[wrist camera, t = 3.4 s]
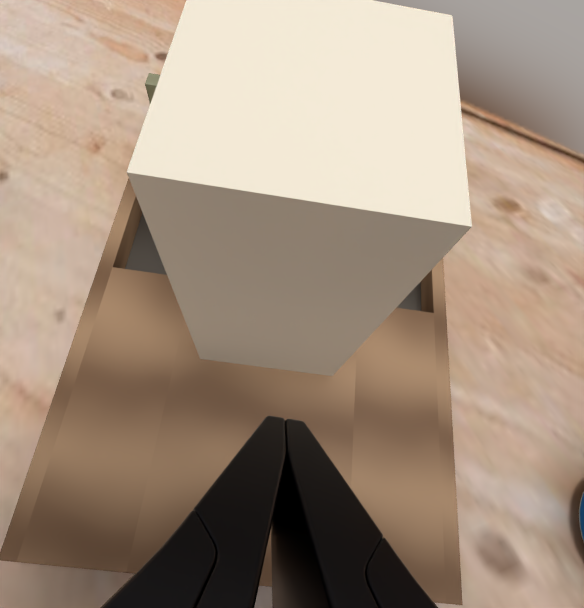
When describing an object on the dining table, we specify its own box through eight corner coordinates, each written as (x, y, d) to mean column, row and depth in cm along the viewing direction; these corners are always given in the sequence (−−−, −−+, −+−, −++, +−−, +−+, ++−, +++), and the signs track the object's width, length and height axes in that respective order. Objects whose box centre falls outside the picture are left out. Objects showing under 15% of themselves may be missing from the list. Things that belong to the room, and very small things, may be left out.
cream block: (332, 375, 21) (471, 226, 8) (200, 358, 20) (126, 172, 8) (339, 261, 24) (452, 15, 11) (223, 244, 23) (198, -33, 10)
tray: (441, 592, 19) (487, 620, 16) (22, 550, 18) (-34, 571, 14) (425, 167, 30) (450, 125, 26) (161, 123, 29) (149, 73, 25)
